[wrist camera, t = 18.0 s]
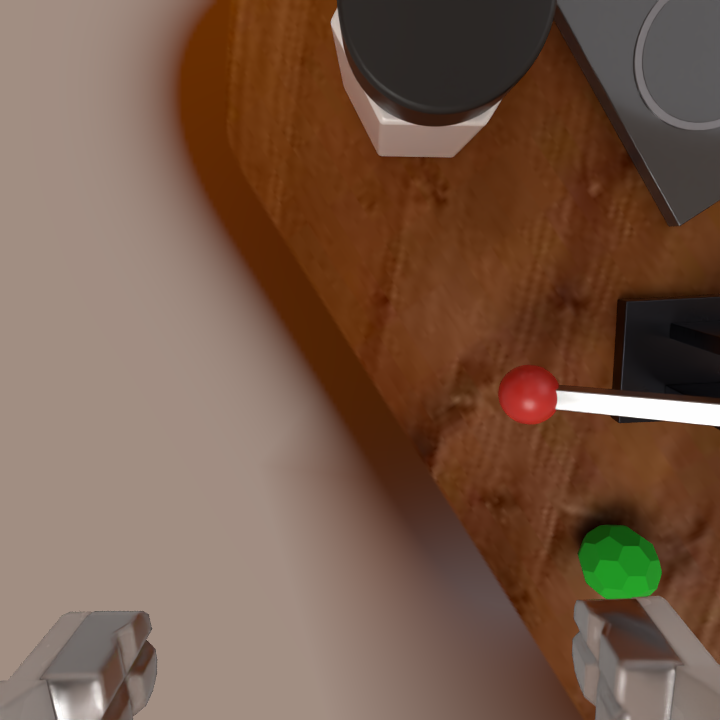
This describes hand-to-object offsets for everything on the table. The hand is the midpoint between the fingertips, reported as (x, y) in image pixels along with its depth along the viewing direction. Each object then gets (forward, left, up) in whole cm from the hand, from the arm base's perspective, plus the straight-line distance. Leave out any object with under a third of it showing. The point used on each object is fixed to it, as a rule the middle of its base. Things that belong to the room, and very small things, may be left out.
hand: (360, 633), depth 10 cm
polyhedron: (+21, +6, -25) cm, 33 cm away
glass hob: (-3, +25, -25) cm, 36 cm away
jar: (-11, +11, -25) cm, 30 cm away
